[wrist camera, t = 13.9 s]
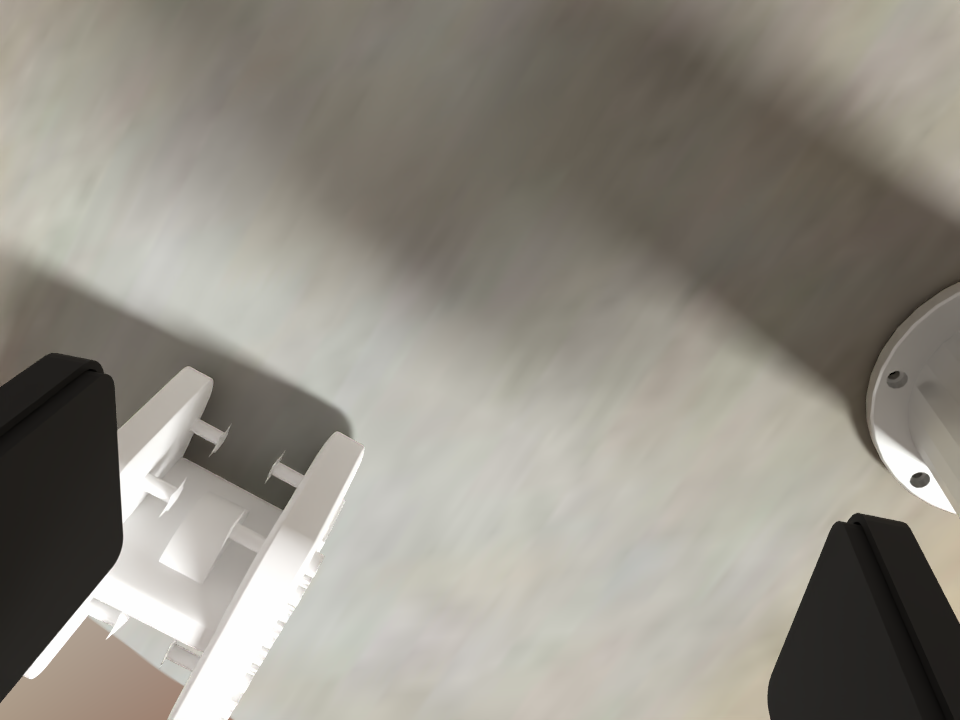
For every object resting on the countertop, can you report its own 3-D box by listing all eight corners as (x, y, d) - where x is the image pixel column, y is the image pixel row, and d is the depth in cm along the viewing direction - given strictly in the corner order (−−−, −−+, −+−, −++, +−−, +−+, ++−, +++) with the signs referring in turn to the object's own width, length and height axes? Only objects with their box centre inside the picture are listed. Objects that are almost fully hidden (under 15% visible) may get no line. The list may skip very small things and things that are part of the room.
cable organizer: (204, 333, 43) (74, 452, 33) (385, 432, 44) (314, 578, 34) (119, 530, 50) (-12, 681, 39) (278, 613, 51) (192, 781, 40)
